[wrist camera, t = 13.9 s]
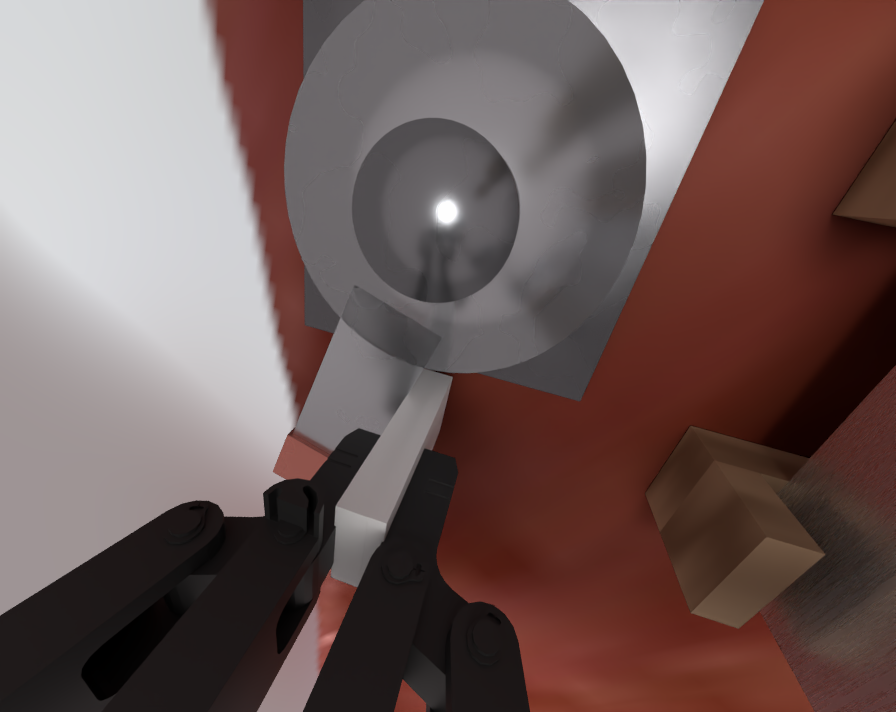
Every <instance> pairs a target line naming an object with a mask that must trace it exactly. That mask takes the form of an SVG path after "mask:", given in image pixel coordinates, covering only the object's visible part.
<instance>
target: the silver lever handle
mask: <svg viewBox="0 0 896 712" xmlns="http://www.w3.org/2000/svg"><path fill="white" fill-rule="evenodd" d="M284 175H285V195H286V201H287V208H288V215H289V219H290V223H291V227H292V231H293V235H294V239H295V241H296V244H297V247H298V249H299V252H300V255H301V258H302V260H303V262H304V264H305V266H306V268H307V270H308V272H309V274H310V276H311V278H312V280H313V282H314V283H315V285H316V286H317V288H318V290H319V291H320V293H321V294H322V296H323V297H324V299H325V300H326V301H327V302H328V304H329V305H330V306H331V308H332V309H333V310H334V311H335V313H336V314H337V315H338V316H339V317H340V320H339V323H338V325H337V328H336V330H335V332H334V335H333V337H332V340H331V342H330V345H329V347H328V349H327V352H326V354H325V357H324V359H323V362H322V364H321V366H320V369H319V371H318V374H317V376H316V378H315V381H314V383H313V386H312V388H311V391H310V393H309V395H308V398H307V400H306V403H305V405H304V408H303V410H302V412H301V415H300V417H299V420H298V422H297V425H296V427H295V428H294V429H293V430H292V431H291V432H290V433H289V434H288V435H287V438H286V440H285V443H284V445H283V448H282V450H281V452H280V455H279V457H278V460H277V463H276V465H275V467H274V470H273V472H274V473H276V474H278V475H279V476H281V477H283V478H285V479H286V480H288V479H296V478H300V479H305V480H311V478H312V477H313V476H314V475H315V473H316V472H317V471H318V470H319V468H320V467H321V466H322V465H323V463H324V462H325V461H327V459H328V457H329V456H330V454H331V453H332V452H333V451H334V450H335V448H336V447H337V445H338V444H339V443H340V442H341V440H342V439H343V438H344V437H345V436H346V435H348V434H350V433H351V432H353V431H355V430H356V429H358V428H360V429H363V430H366V431H369V432H372V433H375V434H378V435H382V433H383V431H384V430H385V428H386V427H387V425H388V424H389V422H390V421H391V419H392V417H393V416H394V414H395V413H396V411H397V410H398V408H399V407H400V405H401V403H402V402H403V400H404V399H405V397H406V396H407V395H408V394H409V392H410V390H411V389H412V387H413V385H414V384H415V382H416V381H417V379H418V377H419V376H420V374H421V372H422V371H423V369H424V368H426V369H430V370H435V371H442V372H449V373H476V372H487V371H492V370H497V369H502V368H506V367H509V366H512V365H515V364H518V363H521V362H524V361H527V360H529V359H531V358H533V357H535V356H537V355H539V354H541V353H543V352H545V351H547V350H548V349H550V348H551V347H553V346H555V345H556V344H558V343H559V342H561V341H562V340H564V339H565V338H566V337H567V336H569V335H570V334H571V333H572V332H573V331H575V330H576V329H577V328H578V327H579V326H581V325H582V323H583V322H584V321H585V320H586V319H587V318H588V317H589V316H590V315H591V314H592V313H593V312H594V311H595V310H596V309H597V307H598V306H599V305H600V303H601V302H602V301H603V299H604V298H605V297H606V295H607V294H608V293H609V291H610V290H611V288H612V287H613V285H614V283H615V281H616V280H617V278H618V276H619V274H620V273H621V271H622V269H623V267H624V265H625V263H626V260H627V258H628V255H629V253H630V251H631V248H632V246H633V243H634V241H635V237H636V234H637V230H638V226H639V223H640V219H641V216H642V210H643V203H644V196H645V189H646V147H645V139H644V131H643V124H642V120H641V116H640V112H639V108H638V104H637V101H636V97H635V93H634V91H633V89H632V86H631V84H630V82H629V79H628V77H627V75H626V72H625V70H624V68H623V65H622V64H621V62H620V60H619V59H618V57H617V55H616V54H615V52H614V51H613V49H612V47H611V46H610V44H609V43H608V41H607V39H606V38H605V37H604V35H603V34H602V33H601V32H600V31H599V30H598V28H597V27H596V26H595V25H594V24H593V23H592V22H591V20H590V19H589V18H588V17H587V16H586V15H585V14H584V13H583V12H582V11H581V10H580V9H578V8H577V7H576V6H575V5H573V4H572V3H571V2H570V1H568V0H364V1H363V2H362V3H361V4H360V5H359V6H357V7H356V8H355V9H354V10H353V11H352V12H351V13H350V14H349V15H348V16H346V17H345V18H344V19H343V20H342V21H341V22H340V24H339V25H338V26H337V27H336V29H335V30H334V31H333V32H332V33H331V35H330V36H329V37H328V38H327V40H326V41H325V42H324V43H323V45H322V47H321V48H320V50H319V52H318V53H317V55H316V57H315V58H314V60H313V61H312V63H311V65H310V66H309V69H308V71H307V73H306V75H305V78H304V80H303V82H302V84H301V87H300V89H299V91H298V94H297V98H296V101H295V104H294V107H293V111H292V114H291V117H290V123H289V128H288V134H287V139H286V149H285V163H284Z"/></svg>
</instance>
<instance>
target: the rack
mask: <svg viewBox="0 0 896 712" xmlns="http://www.w3.org/2000/svg"><path fill="white" fill-rule="evenodd" d="M832 215H837V216H842V217H847V218H851V219H856V220H861V221H866V222H871V223H875V224H880V225H885V226H890V227H895V228H896V121H895V122H894V124H893V125H892V127H891V128H890V130H889V131H888V133H887V134H886V136H885V137H884V139H883V140H882V142H881V143H880V145H879V146H878V148H877V149H876V150H875V152H874V153H873V155H872V156H871V158H870V159H869V161H868V162H867V164H866V165H865V167H864V168H863V170H862V171H861V173H860V174H859V176H858V177H857V179H856V180H855V182H854V183H853V185H852V186H851V188H850V189H849V191H848V192H847V194H846V195H845V197H844V198H843V200H842V201H841V203H840V204H839V206H838V207H837V209H836V210H835V211H834V213H833V214H832ZM809 459H810V458H806V457H803V456H799V455H795V454H792V453H788V452H785V451H781V450H777V449H774V448H770V447H766V446H763V445H759V444H755V443H752V442H748V441H745V440H741V439H737V438H734V437H730V436H726V435H723V434H719V433H715V432H712V431H708V430H705V429H701V428H697V427H694V426H690V427H689V429H688V430H687V432H686V433H685V435H684V436H683V438H682V439H681V441H680V442H679V444H678V445H677V447H676V448H675V450H674V451H673V453H672V454H671V456H670V457H669V459H668V460H667V461H666V463H665V464H664V466H663V467H662V469H661V470H660V472H659V473H658V475H657V476H656V478H655V479H654V481H653V482H652V484H651V485H650V487H649V488H648V490H647V491H646V493H645V495H646V497H647V500H648V503H649V505H650V508H651V511H652V513H653V516H654V518H655V521H656V524H657V526H658V529H659V531H660V534H661V537H662V539H663V542H664V545H665V547H666V550H667V552H668V555H669V558H670V560H671V563H672V565H673V568H674V571H675V573H676V576H677V579H678V581H679V584H680V586H681V589H682V592H683V594H684V597H685V599H686V602H687V605H688V607H689V610H690V613H692V614H695V615H698V616H701V617H704V618H708V619H711V620H714V621H717V622H720V623H723V624H726V625H729V626H732V627H735V628H738V629H739V628H740V627H741V626H742V625H743V624H745V623H746V622H747V621H748V620H749V619H751V618H752V617H753V616H754V615H755V614H756V613H758V612H759V611H760V610H761V609H762V608H763V607H765V606H766V605H767V604H768V603H769V602H771V601H772V600H773V599H774V598H775V597H776V596H778V595H779V594H780V593H781V592H782V591H783V590H785V589H786V588H787V587H788V586H789V585H791V584H792V583H793V582H794V581H795V580H796V579H798V578H799V577H800V576H801V575H802V574H803V573H805V572H806V571H807V570H808V569H809V568H810V567H812V566H813V565H814V564H815V563H816V562H818V561H819V560H820V559H821V558H822V557H823V556H825V555H826V554H825V553H824V552H823V551H822V549H821V548H820V547H819V546H818V545H817V543H816V542H815V541H814V540H813V538H812V537H811V536H810V535H809V533H808V532H807V531H806V530H805V529H804V527H803V526H802V525H801V524H800V522H799V521H798V520H797V519H796V517H795V516H794V515H793V514H792V513H791V511H790V510H789V509H788V508H787V506H786V505H785V504H784V503H783V501H782V500H781V499H780V498H779V497H778V495H777V493H778V492H779V491H780V490H781V489H782V488H783V487H784V486H785V485H786V484H787V483H788V482H789V480H790V479H791V478H792V477H793V476H794V475H795V474H796V473H797V472H798V471H799V470H800V468H801V467H802V466H803V465H804V464H805V463H806V462H807V461H808V460H809Z"/></svg>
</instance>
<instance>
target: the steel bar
mask: <svg viewBox="0 0 896 712" xmlns="http://www.w3.org/2000/svg"><path fill="white" fill-rule="evenodd" d="M777 495H778V497H779V498H780V499H781V500H782V501H783V503H784V504H785V505H786V506H787V508H788V509H789V510H790V511H791V513H792V514H793V515H794V516H795V517H796V519H797V520H798V521H799V522H800V524H801V525H802V526H803V527H804V529H805V530H806V531H807V532H808V533H809V535H810V536H811V537H812V538H813V540H814V541H815V542H816V543H817V545H818V546H819V547H820V548H821V549H822V551H823V552H824V553H825V554H826V555H825V556H823V557H822V558H821V559H820V560H819V561H818V562H816V563H815V564H814V565H813V566H812V567H810V568H809V569H808V570H807V571H806V572H805V573H803V574H802V575H801V576H800V577H799V578H798V579H796V580H795V581H794V582H793V583H792V584H791V585H789V586H788V587H787V588H786V589H785V590H783V591H782V592H781V593H780V594H779V595H778V596H776V597H775V598H774V599H773V600H772V601H771V602H769V603H768V604H767V605H766V606H765V607H763V608H762V609H761V610H760V612H761V614H762V616H763V618H764V620H765V622H766V623H767V625H768V627H769V629H770V631H771V633H772V634H773V636H774V638H775V640H776V642H777V644H778V645H779V647H780V649H781V651H782V653H783V654H784V656H785V658H786V660H787V662H788V664H789V665H790V667H791V669H792V671H793V673H794V675H795V676H796V678H797V680H798V682H799V684H800V686H801V687H802V689H803V691H804V693H805V695H806V696H807V698H808V700H809V702H810V704H811V706H812V707H813V709H814V711H815V712H896V365H895V366H894V367H893V368H892V370H891V371H890V372H889V373H888V374H887V375H886V376H885V377H884V378H883V379H882V380H881V382H880V383H879V384H878V385H877V386H876V387H875V388H874V389H873V390H872V391H871V392H870V393H869V395H868V396H867V397H866V398H865V399H864V400H863V401H862V402H861V403H860V404H859V405H858V407H857V408H856V409H855V410H854V411H853V412H852V413H851V414H850V415H849V416H848V417H847V418H846V420H845V421H844V422H843V423H842V424H841V425H840V426H839V427H838V428H837V429H836V430H835V432H834V433H833V434H832V435H831V436H830V437H829V438H828V439H827V440H826V441H825V442H824V443H823V445H822V446H821V447H820V448H819V449H818V450H817V451H816V452H815V453H814V454H813V455H812V457H811V458H810V459H809V460H808V461H807V462H806V463H805V464H804V465H803V466H802V467H801V468H800V470H799V471H798V472H797V473H796V474H795V475H794V476H793V477H792V478H791V479H790V480H789V482H788V483H787V484H786V485H785V486H784V487H783V488H782V489H781V490H780V491H779V492H778V493H777Z"/></svg>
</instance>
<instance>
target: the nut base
mask: <svg viewBox="0 0 896 712" xmlns="http://www.w3.org/2000/svg"><path fill="white" fill-rule="evenodd" d="M363 1H364V0H303V46H304V78H305V75H306V73H307V71H308V69H309V66H310V65H311V63H312V61H313V60H314V58H315V57H316V55H317V53H318V52H319V50H320V48H321V47H322V45H323V43H324V42H325V41H326V40H327V38H328V37H329V36H330V35H331V33H332V32H333V31H334V30H335V29H336V27H337V26H338V25H339V24H340V22H341V21H342V20H343V19H344V18H345V17H346V16H348V15H349V14H350V13H351V12H352V11H353V10H354V9H355V8H356V7H357V6H359V5H360V4H361V3H362V2H363ZM568 1H570V2H571V3H572V4H573V5H575V6H576V7H577V8H578V9H580V10H581V11H582V12H583V13H584V14H585V15H586V16H587V17H588V18H589V19H590V20H591V22H592V23H593V24H594V25H595V26H596V27H597V28H598V30H599V31H600V32H601V33H602V34H603V35H604V37H605V38H606V39H607V41H608V43H609V44H610V46H611V47H612V49H613V51H614V52H615V54H616V55H617V57H618V59H619V60H620V62H621V64H622V65H623V68H624V70H625V72H626V75H627V77H628V79H629V82H630V84H631V86H632V89H633V91H634V93H635V97H636V101H637V104H638V108H639V112H640V116H641V120H642V124H643V131H644V139H645V147H646V189H645V196H644V203H643V210H642V216H641V219H640V223H639V226H638V230H637V234H636V237H635V241H634V243H633V246H632V248H631V251H630V253H629V255H628V258H627V260H626V263H625V265H624V267H623V269H622V271H621V273H620V274H619V276H618V278H617V280H616V281H615V283H614V285H613V287H612V288H611V290H610V291H609V293H608V294H607V295H606V297H605V298H604V299H603V301H602V302H601V303H600V305H599V306H598V307H597V309H596V310H595V311H594V312H593V313H592V314H591V315H590V316H589V317H588V318H587V319H586V320H585V321H584V322H583V323H582V325H581V326H579V327H578V328H577V329H576V330H575V331H573V332H572V333H571V334H570V335H569V336H567V337H566V338H565V339H564V340H562V341H561V342H559V343H558V344H556V345H555V346H553V347H551V348H550V349H548V350H547V351H545V352H543V353H541V354H539V355H537V356H535V357H533V358H531V359H529V360H527V361H524V362H521V363H518V364H515V365H512V366H509V367H506V368H502V369H497V370H492V371H487V372H476V373H479V374H483V375H487V376H490V377H494V378H497V379H501V380H505V381H508V382H512V383H515V384H519V385H523V386H526V387H530V388H534V389H537V390H541V391H544V392H548V393H552V394H555V395H559V396H562V397H566V398H570V399H573V400H577V401H581V398H582V396H583V394H584V392H585V390H586V387H587V385H588V383H589V381H590V379H591V377H592V374H593V372H594V370H595V368H596V366H597V363H598V361H599V359H600V357H601V355H602V353H603V350H604V348H605V346H606V344H607V342H608V339H609V337H610V335H611V333H612V331H613V329H614V326H615V324H616V322H617V320H618V318H619V315H620V313H621V311H622V309H623V307H624V305H625V302H626V300H627V298H628V296H629V294H630V291H631V289H632V287H633V285H634V283H635V281H636V278H637V276H638V274H639V272H640V270H641V267H642V265H643V263H644V261H645V259H646V257H647V254H648V252H649V250H650V248H651V246H652V243H653V241H654V239H655V237H656V235H657V233H658V230H659V228H660V226H661V224H662V222H663V219H664V217H665V215H666V213H667V211H668V209H669V206H670V204H671V202H672V200H673V198H674V195H675V193H676V191H677V189H678V187H679V185H680V182H681V180H682V178H683V176H684V174H685V172H686V169H687V167H688V165H689V163H690V161H691V158H692V156H693V154H694V152H695V150H696V148H697V145H698V143H699V141H700V139H701V137H702V134H703V132H704V130H705V128H706V126H707V124H708V121H709V119H710V117H711V115H712V113H713V110H714V108H715V106H716V104H717V102H718V100H719V97H720V95H721V93H722V91H723V89H724V86H725V84H726V82H727V80H728V78H729V76H730V73H731V71H732V69H733V67H734V65H735V62H736V60H737V58H738V56H739V54H740V52H741V49H742V47H743V45H744V43H745V41H746V38H747V36H748V34H749V32H750V30H751V28H752V25H753V23H754V21H755V19H756V17H757V14H758V12H759V10H760V8H761V6H762V4H763V1H764V0H568ZM339 320H340V317H339V316H338V315H337V314H336V313H335V311H334V310H333V309H332V308H331V306H330V305H329V304H328V302H327V301H326V300H325V299H324V297H323V296H322V294H321V293H320V291H319V290H318V288H317V286H316V285H315V283H314V282H313V280H312V278H311V276H310V274H309V272H308V270H307V268H306V266H305V325H306V326H310V327H313V328H317V329H320V330H324V331H328V332H331V333H334V332H335V330H336V328H337V325H338V323H339Z"/></svg>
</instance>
